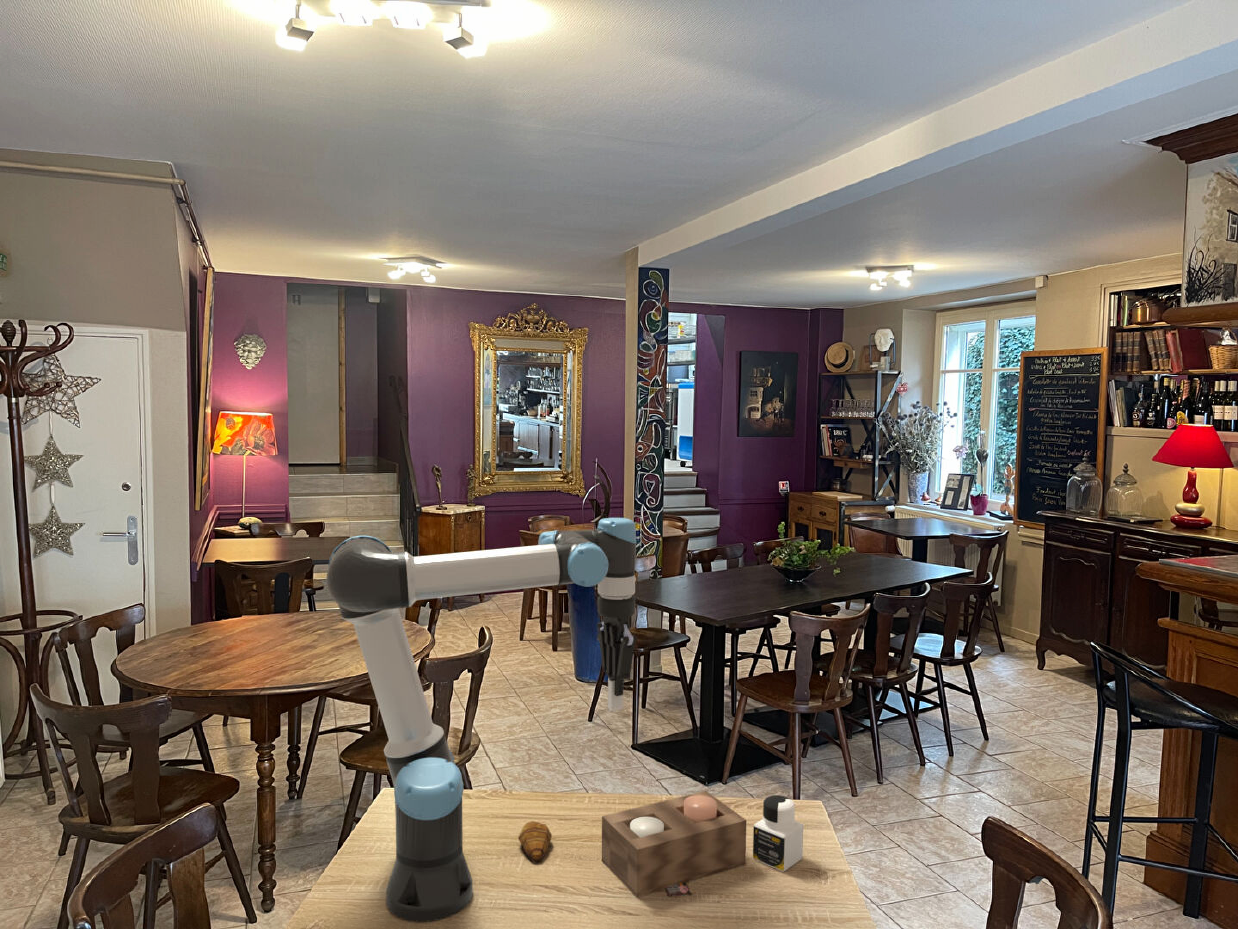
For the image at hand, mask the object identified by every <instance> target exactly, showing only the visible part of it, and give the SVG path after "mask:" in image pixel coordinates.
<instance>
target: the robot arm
mask: <svg viewBox="0 0 1238 929" xmlns="http://www.w3.org/2000/svg"><path fill="white" fill-rule="evenodd" d="M537 542H538V543H537V545H528V546H527V545H526V546H515V547H505V548H494V549H483V550H481V549H480V550H473V551H470V550H469V551H464V552H463V551H461V552H452V553H451V552H449V553H441V554H440V553H439V554H429V555H417V556H413V555H412V554H410V553H409V552H408V551H399V552H398V551H397V552H392V550H391V549H390V547H389V546H388V545H387V544H386V543H385V542H383V541H382V540H380V539H379V538H377V537H374V536H372V535H371V536H370V535H356V536H351V537H350V538H347V539H345V540H344V541H342V542H341V543H339V544H338V545H337V546H336V548H334V550H333V551H332V553H331V555H330V557H329V561H328V569H327V573H326V586H327V591H328V593H329V595H330V597H331V598H332V599H333V601H334V602H335V603H336V604H337V605H338V609H339V611H340V615H341V618H342V620H344V621H346V622H349V623H350V624H352V625H353V628H354V630H355V634H356V637H357V638H356V639H357V641H358V644H359V647H360V650H361V654H362V657H363V660H364V663H365V664H364V665H365V667H366V670H367V673H368V676H369V680H370V683H371V686H372V691H373V692H374V696H375V699H376V702H377V705H378V709H379V712H380V715H381V718H382V722H383V725H384V728H385V732H386V735H387V739H388V741H387V743H386V745H385V747H384V748H383V753H384V757H385V760H386V763H387V767H388V770H389V773H390V776H391V777H390V778H391V780H392V784H393V789H394V790H393V794H394V807H395V809H394V810H395V811H394V812H395V854H396V857H395V860H394V864H393V868H392V871H391V874H390V877H389V880H388V883H387V886H386V890H385V892H386V896H385V897H386V898H385V899H386V907H387V909H388V911H389V912H390V913H391V914H393V915H394V916H396V917H398V918H399V919H402V920H405V921H409V922H411V921H412V922H422V923H423V922H432V921H433V922H434V921H439V920H441V919H447V918H449V917H451V916H453V915H455V914H458V913H459V912H460V911H462V910H463V909H465V908H466V906H467V905H469V903H470V902H471V900H472V898H473V894H474V892H473V891H474V890H473V886H474V885H473V884H474V882H473V878H472V875H471V872H470V869H469V866H468V863H467V860H466V858H465V855H464V851H463V848H464V847H463V842H464V841H463V840H464V839H463V833H464V832H463V795H464V794H463V793H464V782H463V777H462V772H461V771H460V769H459V767H458V766H457V765H456V763H455V759H454V756H453V753H452V751H451V749H450V748H449V745H448V741H447V737H446V735H445V731H444V729H443V727H442V726H440V725H437V724H436V723H434V722H433V719H432V715H431V712H430V709H429V705H428V703H427V700H426V695H425V692H424V689H423V686H422V682H421V679H420V676H419V672H418V669H417V665H416V663H415V659H414V655H413V653H412V649H411V646H410V643H409V639H408V636H407V633H406V628H405V624H404V622H403V618H402V616H401V612H400V609H403V608H411V607H412V606H413V605H414V604H415V603H416V601H421V600H431V599H438V598H439V599H440V598H447V597H448V598H449V597H459V596H467V595H478V594H485V593H487V594H488V593H493V592H503V591H504V592H505V591H513V590H521V589H530V588H541V587H547V586H548V587H549V586H550V587H551V586H558V585H569V584H575V585H578V586H582V587H586V588H587V587H589V588H590V587H594V586H597V593H598V597H597V613H598V614H599V616H601V617H603V618H602V622H598V623H596V628H597V631H598V637H599V646H600V648H599V649H600V659H601V666H602V667H601V669H602V671H603V672H606V673H605V674H606V676H607V677H608V679H607V682H608V683H607V710H609V711H610V712H616V711H621V710H622V711H623V710H624V682H625V681H624V680H627V679H630V678H631V673H632V672H631V671H632V666H633V665H632V664H633V658H634V657H633V656H634V651H635V650H634V649H635V645H636V643H637V640H638V638H637V635H632V633H631V631H630V630H631V624H630V618H631V617H632V616H633V615H635V613H636V597H635V596H634V595H635V593H636V581H637V577H636V556H637V555H636V552H637V549H636V548H637V531H636V524H635V522H634V521H633V520H632V519H631V518H625V517H606V518H601V519H600V520H599V521H598V525H597V528H593V529H586V530H585V529H584V530H582V529H580V530H579V529H577V530H558V529H556V530H553V531H550V530H549V531H544V532H542V533H541V534H540V535H539V537H538V541H537Z"/></svg>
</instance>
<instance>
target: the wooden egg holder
mask: <svg viewBox="0 0 1238 929" xmlns="http://www.w3.org/2000/svg"><path fill="white" fill-rule="evenodd" d="M695 795H702V796H708V797H710V798H713V799H714V800H715V801H716V802H717V817H716V818H713V819H709V820H705V821H701V822H697V823H694V822H693V821H692V820H690V819H689V818H688V817H687V816H685V815H684V800H685V799H686V798H688V797H690V796H695ZM639 817H653V818H657V819H659V820H661V821H662V822H663V824H664V831H663V832H659V833H656V834H652V835H648V836H644V837H639V836H638V835H637V834H635V833H634V832H633V831H632V830H631V829H630V823H631V821H632V820H634V819H636V818H639ZM746 850H747V819H746V818H745V817H743V816H742V815H740V814H739V813H738V812H736V811H734V810H733V809H732V808H731V807H729V806H727V804H725V803H723V802H722V801H721V800H720V799H718V798H717V797H715V796H714V795H712V794H711V793H710V792H708V791H707V790H703V791H699V792H695V793H692V794H688V795H683V796H678V797H675V798H671V799H667V800H662V801H658V802H654V803H650V804H646V805H642V806H638V807H634V808H629V809H626V810H622V811H617V812H614V813H609V814H606V815H602V816H601V862H602V863H603V864H604V865H605V866H606V867H607V869H609V870H610V871H611V872H612V873H613V875H615V876H616V878H618V880H619V881H620V882H621V883H622V884H623V885H624V886H625V887H626V888H627V889H628V890H629V891H630V892H631V893H632V894H633V895H634V897H636V898H640V897H643V896H646V895H650V894H653V893H656V892H660V891H664V890H665V889H666V888H667V887H669V886H673V885H676V884H679V883H683V882H685V883H686V884H687V883H690V882H695V881H696V880H700V879H704V878H707V877H710V876H714V875H717V874H721V873H723V872H724V873H725V872H728V871H731V870H733V869H737V868H740V867H744V866H746V865H747V864H746V862H747V860H746V858H747V857H746V856H747V855H746V854H747V852H746Z"/></svg>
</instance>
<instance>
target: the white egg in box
mask: <svg viewBox="0 0 1238 929" xmlns="http://www.w3.org/2000/svg"><path fill="white" fill-rule="evenodd" d="M630 829H631V830H632V831H633V832H634V833H635V834H637V835H638V836H639V837H644V836H648V835H652V834H656V833H659V832H663V831H664V824H663V822H662V821H661V820H659V819H657V818H653V817H639V818H636V819H634V820H632V821H631V823H630Z"/></svg>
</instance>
